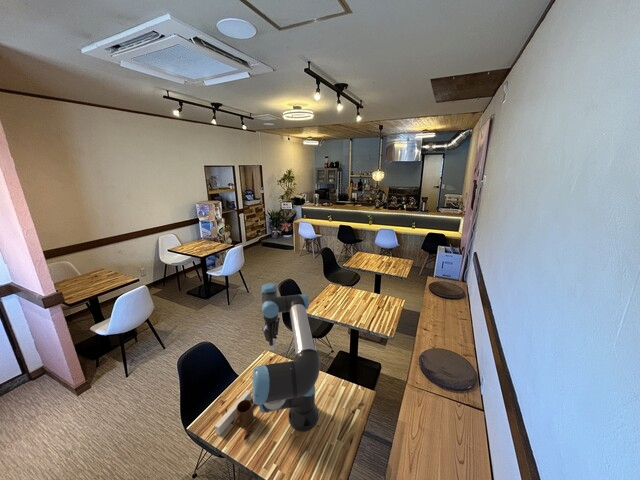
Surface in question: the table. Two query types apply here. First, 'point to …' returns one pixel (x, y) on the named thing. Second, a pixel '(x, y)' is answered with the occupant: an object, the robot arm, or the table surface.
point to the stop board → (230, 414)
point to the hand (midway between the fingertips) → (272, 348)
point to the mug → (244, 414)
